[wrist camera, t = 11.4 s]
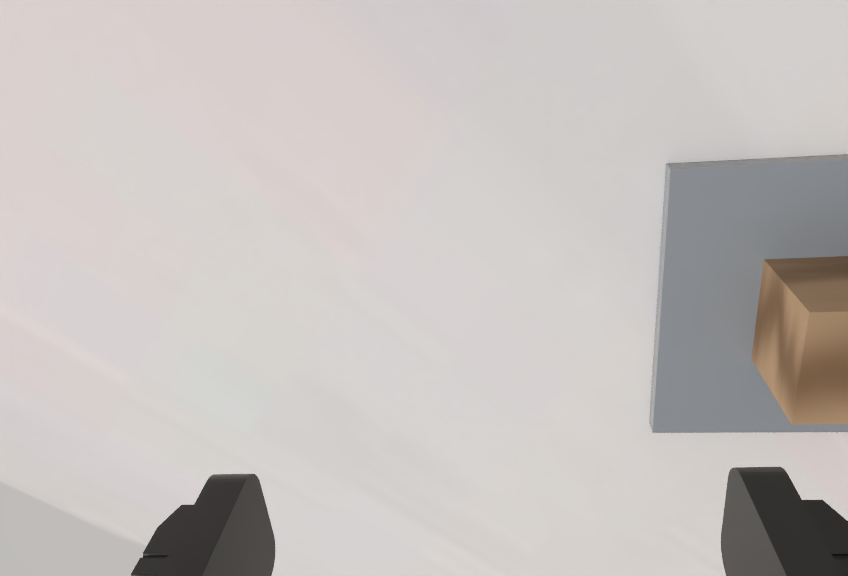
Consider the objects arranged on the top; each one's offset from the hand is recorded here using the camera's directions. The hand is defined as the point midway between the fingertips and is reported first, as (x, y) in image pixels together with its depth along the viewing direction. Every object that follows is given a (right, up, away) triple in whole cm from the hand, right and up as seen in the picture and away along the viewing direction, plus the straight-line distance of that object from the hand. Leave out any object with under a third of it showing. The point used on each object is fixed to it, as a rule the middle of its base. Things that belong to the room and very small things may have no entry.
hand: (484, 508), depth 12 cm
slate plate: (+20, +3, +26) cm, 33 cm away
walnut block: (+20, +3, +25) cm, 32 cm away
